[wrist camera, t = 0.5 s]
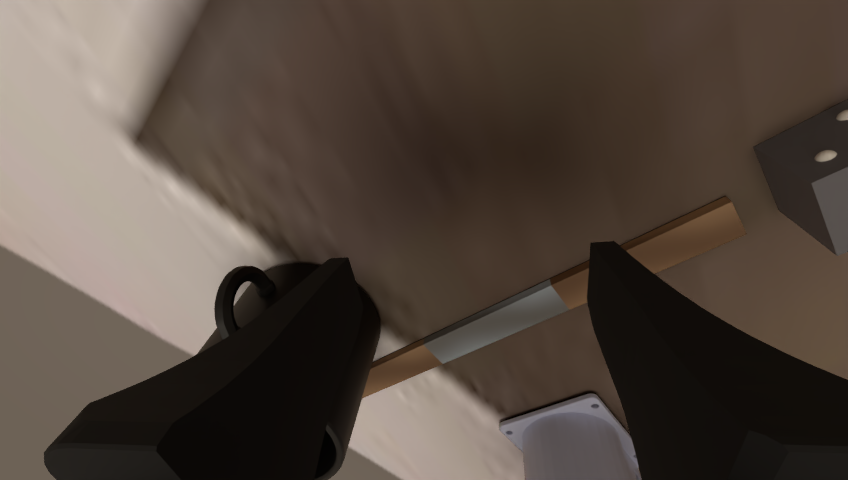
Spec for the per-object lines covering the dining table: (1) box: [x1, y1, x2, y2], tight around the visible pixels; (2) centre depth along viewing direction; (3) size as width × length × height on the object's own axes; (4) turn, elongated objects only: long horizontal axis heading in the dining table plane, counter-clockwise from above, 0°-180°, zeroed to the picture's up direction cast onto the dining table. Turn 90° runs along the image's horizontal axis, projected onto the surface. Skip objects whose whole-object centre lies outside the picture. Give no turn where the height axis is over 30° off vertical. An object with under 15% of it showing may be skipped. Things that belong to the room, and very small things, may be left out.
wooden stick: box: [362, 196, 746, 398], centre depth 26 cm, size 2×28×1 cm, turn 128°
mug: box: [198, 264, 380, 480], centre depth 24 cm, size 9×12×9 cm
